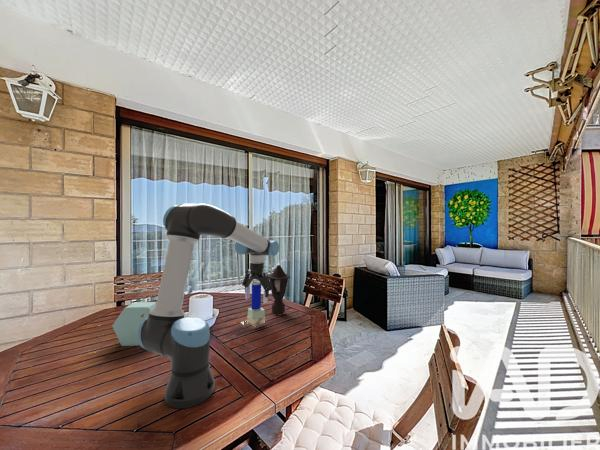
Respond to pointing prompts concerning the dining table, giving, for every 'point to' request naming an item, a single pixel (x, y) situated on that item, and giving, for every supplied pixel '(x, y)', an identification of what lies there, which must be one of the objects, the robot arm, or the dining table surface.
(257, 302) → the beverage can
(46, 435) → the dining table surface
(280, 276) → the lantern
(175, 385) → the robot arm
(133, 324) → the mint green hexagonal block
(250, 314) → the block top
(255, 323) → the block bottom
